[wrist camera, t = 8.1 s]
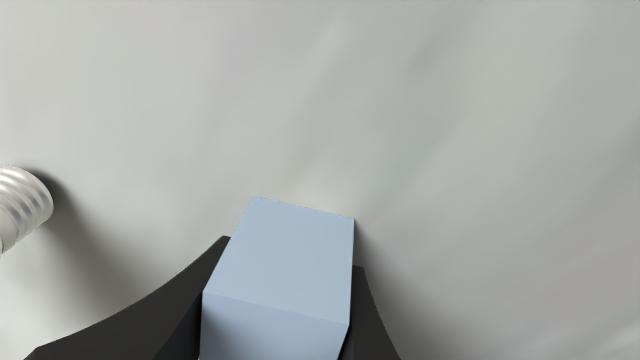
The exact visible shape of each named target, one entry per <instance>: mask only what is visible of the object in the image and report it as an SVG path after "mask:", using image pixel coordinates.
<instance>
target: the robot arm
mask: <svg viewBox="0 0 640 360" xmlns="http://www.w3.org/2000/svg"><path fill="white" fill-rule="evenodd" d="M230 239H231V237H228V236H222V237H220V238H219V239H218V240H217V241H216V242H215V243H214V244H213V245H212V246H211V247H210V248H209V249H208V250H207V251H205V252H204V253H203V254H202V255H201V256H200V257H199V258H197V259H196V260H195V261H194V262H193V263H191V264H190V265H189V266H188V267H187V268H185V269H184V270H183V271H182V272H180V273H179V274H178V275H176V276H175V277H174V278H172V279H171V280H169V281H168V282H167V283H165V284H164V285H163V286H161V287H160V288H158V289H157V290H155V291H154V292H152V293H151V294H149V295H147V296H146V297H144V298H143V299H141V300H139V301H138V302H136V303H134V304H132V305H131V306H129V307H127V308H125V309H124V310H122V311H120V312H118V313H116V314H114V315H112V316H110V317H108V318H106V319H104V320H102V321H100V322H98V323H96V324H94V325H92V326H89V327H87V328H85V329H83V330H81V331H78V332H76V333H74V334H71V335H69V336H66V337H63V338H61V339H58V340H56V341H53V342H50V343H48V344H45V345H42V346H40V347H37V348H35V349H34V350H33V352H31V353H30V354H29V355H28V356H27V357H26V358H25V359H24V360H198V358H199V355H200V336H201V318H202V299H203V291H204V289H205V287H206V285H207V283H208V281H209V279H210V277H211V275H212V273H213V271H214V269H215V267H216V266H217V264H218V262H219V260H220V258H221V256H222V254H223V252H224V250H225V248H226V246H227V244H228V242H229V240H230ZM337 360H401V359H400V357H399V355H398V353H397V352H396V350H395V348H394V346H393V344H392V342H391V340H390V338H389V336H388V334H387V332H386V330H385V327H384V325H383V323H382V321H381V318H380V316H379V313H378V311H377V308H376V306H375V303H374V301H373V298H372V295H371V292H370V289H369V286H368V283H367V279H366V276H365V272H364V269H363V268H362V267H358V266H354V265H352V275H351V296H350V316H349V326H348V329H347V332H346V335H345V338H344V341H343V344H342V346H341V349H340V352H339V355H338V358H337Z"/></svg>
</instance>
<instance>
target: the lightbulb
mask: <svg viewBox="0 0 640 360" xmlns="http://www.w3.org/2000/svg"><path fill="white" fill-rule="evenodd" d="M53 209H54V206H53V200H52V197H51V195H50V193H49V191H48V189H47V188H46V187H45V185H44V184H43V183H42V182H41V181H40V180H39V179H38V178H36V177H35V176H34V175H32V174H31V173H29V172H27V171H26V170H23V169H21V168H18V167H15V166H11V165H0V257H1V255H2V254H4V253H5V252H6V251H8V250H9V249H10V248H12V247H13V246H14V244H15V243H16V242H19V241H20V240H22V239H23V238H24V236H25V235H28V234H30V233H31V232H32V231H33V229H35V228H37V227H39V226H40V225H41V224H42V223H43V222H45V221H47V220H48V219H49V218H50V217H51V215H52V213H53Z"/></svg>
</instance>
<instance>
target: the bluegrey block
mask: <svg viewBox="0 0 640 360" xmlns="http://www.w3.org/2000/svg"><path fill="white" fill-rule="evenodd" d="M353 234H354V218H350V217H345V216H341V215H336V214H332V213H328V212H323V211H319V210H314V209H310V208H306V207H301V206H297V205H292V204H288V203H283V202H279V201H275V200H270V199H266V198H261V197H257V196H252V198H251V200H250V202H249V204H248V206H247V208H246V210H245V212H244V214H243V215H242V217H241V219H240V221H239V223H238V225H237V227H236V229H235V231H234V233H233V235H232V237H231V239H230V240H229V242H228V244H227V246H226V248H225V250H224V252H223V254H222V256H221V258H220V260H219V262H218V264H217V266H216V267H215V269H214V271H213V273H212V275H211V277H210V279H209V281H208V283H207V285H206V287H205V289H204V291H203V299H202V318H201V336H200V355H199V360H337V358H338V355H339V352H340V349H341V346H342V344H343V341H344V338H345V335H346V332H347V329H348V326H349V316H350V296H351V275H352V255H353Z"/></svg>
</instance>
